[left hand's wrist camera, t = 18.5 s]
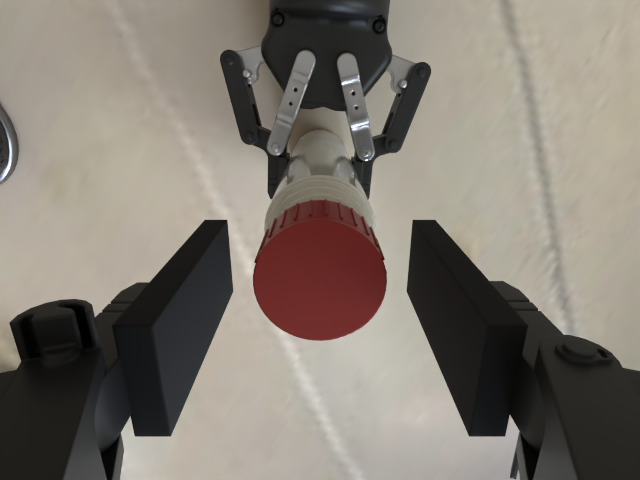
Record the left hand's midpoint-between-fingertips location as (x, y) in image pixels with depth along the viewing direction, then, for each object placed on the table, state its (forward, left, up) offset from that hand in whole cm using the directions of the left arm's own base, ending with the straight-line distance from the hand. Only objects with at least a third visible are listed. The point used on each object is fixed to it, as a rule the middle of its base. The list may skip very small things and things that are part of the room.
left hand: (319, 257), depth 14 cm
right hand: (-2, +2, -16) cm, 16 cm away
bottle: (0, 0, -22) cm, 22 cm away
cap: (0, 0, +2) cm, 2 cm away
